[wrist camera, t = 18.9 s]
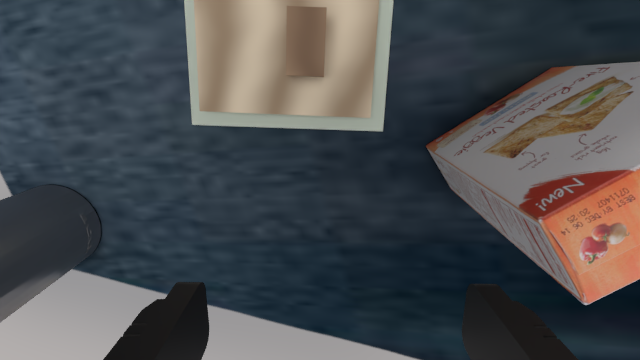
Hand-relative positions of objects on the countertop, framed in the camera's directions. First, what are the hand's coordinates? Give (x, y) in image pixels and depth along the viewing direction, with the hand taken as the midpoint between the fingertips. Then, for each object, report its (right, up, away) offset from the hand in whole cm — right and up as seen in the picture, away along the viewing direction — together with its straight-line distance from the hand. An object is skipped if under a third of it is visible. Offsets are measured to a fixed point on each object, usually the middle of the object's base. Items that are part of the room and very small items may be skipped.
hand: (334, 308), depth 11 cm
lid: (-4, +16, +23) cm, 28 cm away
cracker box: (+17, +9, +25) cm, 32 cm away
